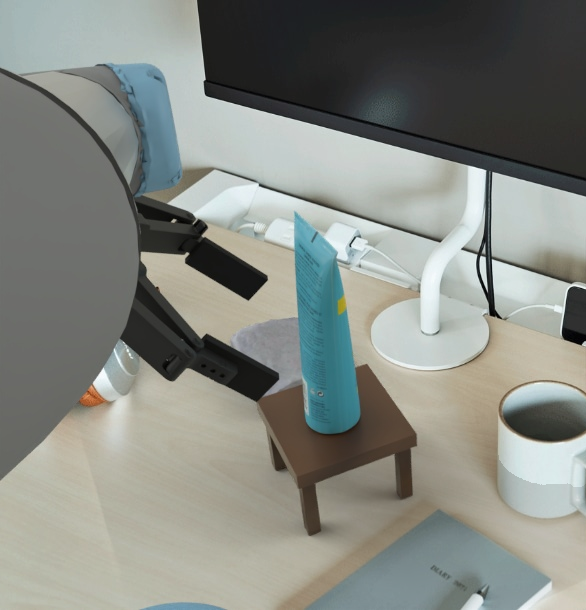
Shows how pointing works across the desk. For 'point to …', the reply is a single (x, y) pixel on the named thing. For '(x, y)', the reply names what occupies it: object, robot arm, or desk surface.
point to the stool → (337, 441)
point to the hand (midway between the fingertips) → (263, 334)
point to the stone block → (273, 349)
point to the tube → (323, 334)
